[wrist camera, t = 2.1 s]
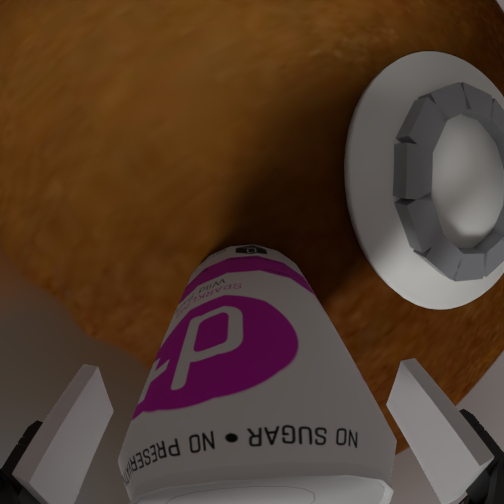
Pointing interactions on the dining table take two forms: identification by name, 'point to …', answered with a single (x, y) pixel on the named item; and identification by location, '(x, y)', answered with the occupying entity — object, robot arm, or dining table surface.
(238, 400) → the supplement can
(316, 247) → the dining table surface
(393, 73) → the round tray
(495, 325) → the dining table surface
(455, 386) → the dining table surface
